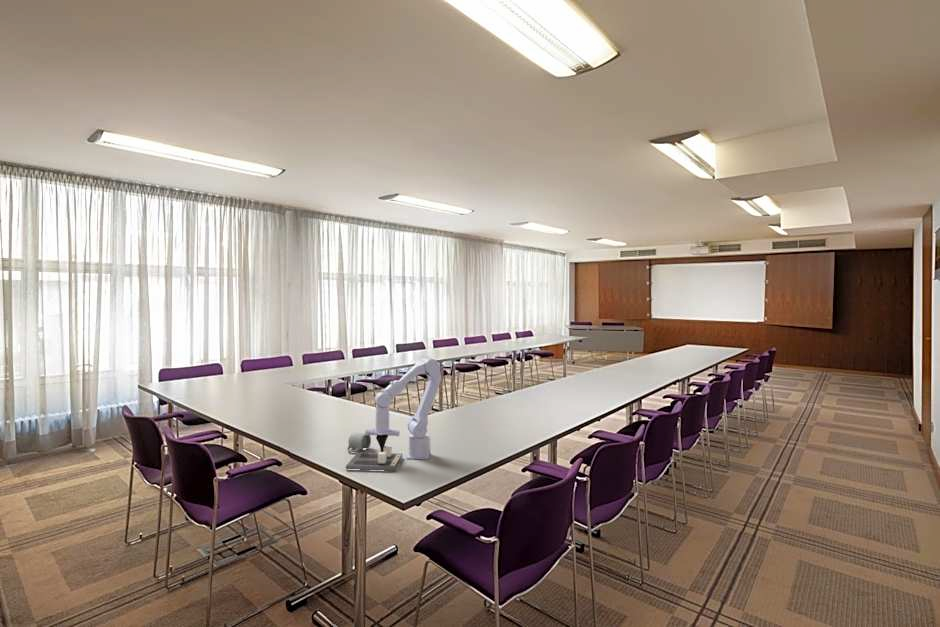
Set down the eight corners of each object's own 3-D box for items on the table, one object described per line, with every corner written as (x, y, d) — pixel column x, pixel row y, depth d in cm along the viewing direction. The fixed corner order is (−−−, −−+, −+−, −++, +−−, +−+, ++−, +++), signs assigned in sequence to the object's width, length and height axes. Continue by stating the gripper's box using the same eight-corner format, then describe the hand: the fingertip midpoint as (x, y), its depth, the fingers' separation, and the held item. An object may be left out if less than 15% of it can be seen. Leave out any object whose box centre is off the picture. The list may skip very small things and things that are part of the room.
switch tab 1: (386, 460, 194) (386, 451, 193) (385, 463, 191) (385, 454, 190) (379, 460, 194) (379, 451, 194) (377, 463, 191) (377, 454, 191)
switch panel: (402, 458, 204) (402, 453, 204) (394, 471, 188) (394, 466, 188) (357, 457, 205) (357, 452, 205) (345, 470, 189) (345, 465, 189)
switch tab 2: (391, 454, 202) (391, 445, 201) (390, 456, 199) (390, 448, 198) (385, 454, 202) (385, 445, 202) (383, 456, 199) (383, 447, 199)
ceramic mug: (356, 445, 221) (356, 429, 221) (371, 447, 218) (371, 431, 218) (342, 452, 211) (342, 436, 211) (357, 455, 208) (357, 438, 208)
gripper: (363, 422, 196) (363, 454, 197) (397, 423, 195) (397, 455, 196) (367, 418, 203) (367, 449, 204) (400, 419, 202) (400, 450, 203)
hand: (382, 451), depth 200 cm, fingers closed
